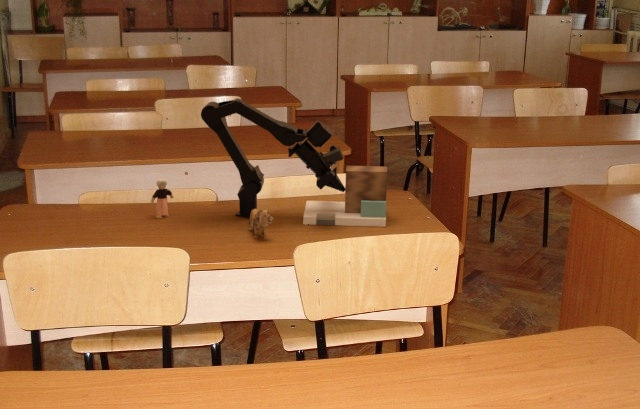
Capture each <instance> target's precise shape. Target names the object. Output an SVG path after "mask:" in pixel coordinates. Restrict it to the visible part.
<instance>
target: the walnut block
mask: <svg viewBox="0 0 640 409" xmlns="http://www.w3.org/2000/svg"><path fill="white" fill-rule="evenodd" d="M387 184H388V167H387V166H375V165H374V166H373V165H372V166H371V165H369V166H368V165H345V185H344V187H345V191H344V194H345V195H344V202H345V213H361V200H363V201H387V190H388V189H387V188H388V185H387Z"/></svg>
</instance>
